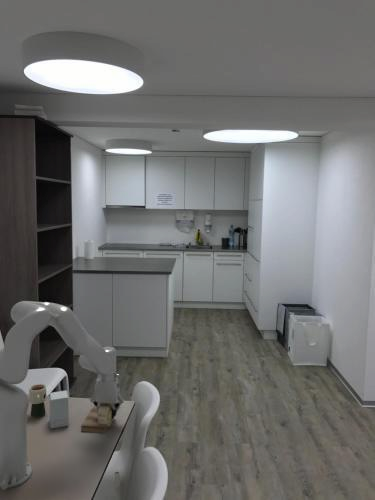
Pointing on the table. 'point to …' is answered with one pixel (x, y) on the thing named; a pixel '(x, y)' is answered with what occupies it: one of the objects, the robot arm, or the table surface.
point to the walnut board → (94, 422)
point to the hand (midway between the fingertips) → (106, 416)
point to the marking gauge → (105, 414)
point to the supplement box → (58, 409)
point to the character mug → (37, 399)
